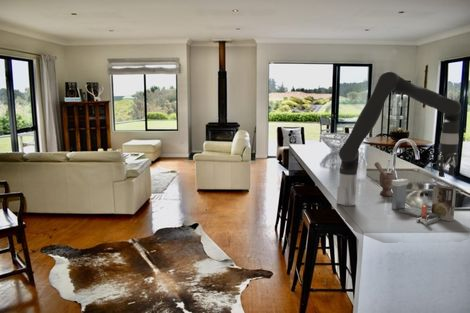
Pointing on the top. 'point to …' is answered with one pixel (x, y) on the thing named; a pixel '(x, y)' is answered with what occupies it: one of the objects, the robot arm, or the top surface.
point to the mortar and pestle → (385, 181)
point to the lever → (424, 213)
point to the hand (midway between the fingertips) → (446, 175)
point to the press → (400, 199)
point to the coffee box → (444, 201)
